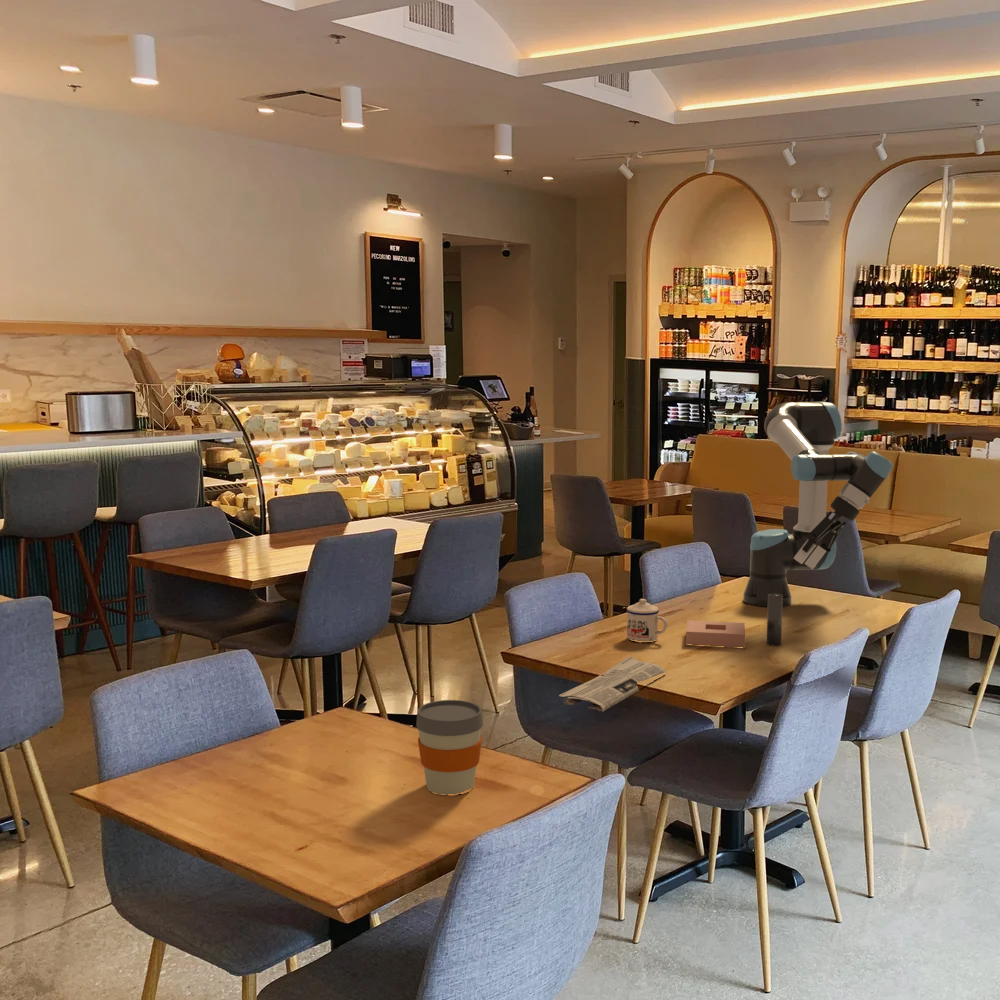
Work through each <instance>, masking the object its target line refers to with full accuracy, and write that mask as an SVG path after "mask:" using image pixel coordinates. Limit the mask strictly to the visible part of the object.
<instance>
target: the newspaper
mask: <svg viewBox="0 0 1000 1000" xmlns="http://www.w3.org/2000/svg"><path fill="white" fill-rule="evenodd" d="M664 672H666V673H667V671H666V669H664V668H663V667H662V666H661V665H659V664H657V663H656V664H655V663H652V662H647V661H641V660H638V659H635V658H634V657H633V656H631V655H629V656H627V657H626V658H624V659H623V660H622V661H620V662H618V663H617V664H615V665H614V666H612V667H610V668H609V669H607V670H606V671H603V673H601V674H600V675H598V676H596V677H595V678H592V679H591V680H588V681H586V682H584V683H582V684H580V685H577V686H576V687H573V688H571V689H569V690H567V691H564V692H563V693H561V694H558V697H562V698H563V697H566V698H564V699H563V704H565V705H566V706H567V705H569V706H571V705H572V706H574V705H576V704H578V703H580V702H581V701H587V702H590V703H592V704H591V705H589V706H588V707H587V709H591V710H592V709H593V710H595V711H596V710H597V711H599V712H601V711H602V713H603V712H605V711H606V710H608V709H611V707H613V706H615V705H616V704H619V703H620V702H622V701H624V700H626V699H627V698H628V697H629V698H630V697H631V696H632V695H634V694H637V692H639V691H640V690H639V689H638V686H637V685H636V684H637V682H640V681H644V680H647V679H649V678H652V677H654V676H657V675H659V674H662V673H664ZM605 673H606V674H605ZM602 674H605V675H604V676H601V675H602Z"/></svg>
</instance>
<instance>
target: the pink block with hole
mask: <svg viewBox="0 0 1000 1000" xmlns="http://www.w3.org/2000/svg"><path fill="white" fill-rule="evenodd" d="M745 625H746V623H745V622H738V621H737V622H736V621H735V622H734V621H715V620H714V621H713V620H712V621H711V620H696V619H695V620H690V619H688V620H687V622H686V631H685V645H686V644H692V645H710V646H724V647H743V648H745V649H746V626H745Z"/></svg>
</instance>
